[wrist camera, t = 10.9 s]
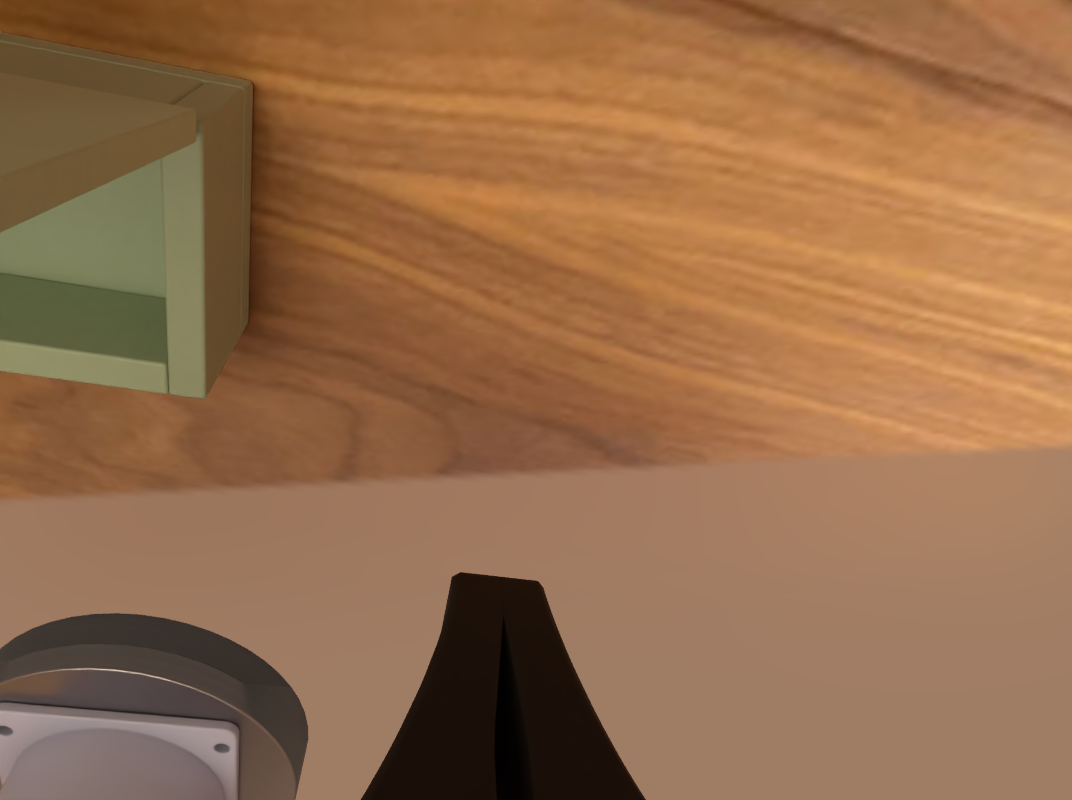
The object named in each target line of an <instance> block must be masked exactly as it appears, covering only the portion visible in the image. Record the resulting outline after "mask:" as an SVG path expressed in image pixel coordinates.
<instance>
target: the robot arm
mask: <svg viewBox="0 0 1072 800" xmlns="http://www.w3.org/2000/svg"><path fill="white" fill-rule="evenodd" d="M239 735H240V732H239V728H238V727H237V726H236V725H235V724H233V723H231V722H228V721H219V720H208V719H196V718H184V717H173V716H161V715H149V714H137V713H126V712H114V711H102V710H91V709H79V708H67V707H56V706H44V705H32V704H20V703H9V702H1V703H0V778H1V783H2V788H1V790H0V800H238V787H239ZM361 800H646V799H645V798H644V796H643V795H642V793H641V792H640V790H639V788H638V787H637V785H636V784H635V782H634V780H633V779H632V777H631V775H630V774H629V772H628V771H627V769H626V767H625V766H624V764H623V762H622V760H621V758H620V757H619V755H618V753H617V751H616V750H615V748H614V746H613V744H612V742H611V741H610V739H609V737H608V735H607V733H606V731H605V730H604V728H603V726H602V724H601V722H600V720H599V718H598V716H597V714H596V712H595V711H594V709H593V707H592V705H591V702H590V700H589V698H588V696H587V694H586V692H585V690H584V688H583V686H582V684H581V682H580V679H579V677H578V675H577V673H576V671H575V669H574V667H573V664H572V662H571V660H570V658H569V655H568V653H567V651H566V648H565V646H564V643H563V641H562V638H561V636H560V634H559V631H558V629H557V626H556V623H555V621H554V618H553V615H552V613H551V610H550V607H549V604H548V601H547V598H546V595H545V592H544V588H543V587H542V585H541V584H540V583H539V582H538V581H533V580H524V579H515V578H506V577H497V576H488V575H480V574H471V573H462V572H460V573H458V574H457V575H455V576H453V577H452V580H451V585H450V590H449V595H448V600H447V605H446V610H445V615H444V620H443V626H442V630H441V634H440V637H439V640H438V643H437V646H436V648H435V651H434V654H433V656H432V659H431V661H430V664H429V666H428V669H427V671H426V674H425V676H424V679H423V681H422V684H421V686H420V688H419V690H418V693H417V695H416V697H415V699H414V701H413V703H412V705H411V708H410V709H409V712H408V714H407V716H406V718H405V720H404V722H403V724H402V726H401V728H400V731H399V732H398V734H397V736H396V738H395V740H394V742H393V744H392V746H391V748H390V750H389V751H388V753H387V755H386V757H385V759H384V761H383V762H382V764H381V766H380V768H379V770H378V771H377V773H376V775H375V777H374V778H373V780H372V782H371V784H370V785H369V787H368V789H367V790H366V792H365V794H364V795H363V797H362V798H361Z"/></svg>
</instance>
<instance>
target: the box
mask: <svg viewBox="0 0 1072 800" xmlns="http://www.w3.org/2000/svg"><path fill="white" fill-rule="evenodd" d="M0 72H1V73H6V74H11V75H17V76H22V77H27V78H33V79H38V80H43V81H49V82H54V83H59V84H64V85H70V86H75V87H80V88H86V89H91V90H96V91H102V92H107V93H112V94H118V95H123V96H128V97H134V98H139V99H144V100H150V101H155V102H160V103H166V104H171V105H176V106H181V107H187V108H192V109H194V110H196V141H195V143H193V144H191V145H189V146H187V147H185V148H183V149H180V150H178V151H176V152H174V153H172V154H170V155H167V156H165V157H163V158H161V159H159V160H157V161H154V162H152V163H150V164H148V165H146V166H144V167H141V168H139V169H137V170H135V171H133V172H131V173H128V174H126V175H124V176H122V177H120V178H118V179H115V180H113V181H111V182H109V183H107V184H105V185H102V186H100V187H98V188H96V189H94V190H92V191H89V192H87V193H85V194H83V195H81V196H79V197H76V198H74V199H72V200H70V201H68V202H66V203H63V204H61V205H59V206H57V207H55V208H53V209H50V210H48V211H46V212H44V213H42V214H40V215H37V216H35V217H33V218H31V219H29V220H27V221H24V222H22V223H20V224H18V225H16V226H14V227H11V228H9V229H7V230H5V231H3V232H1V233H0V371H4V372H11V373H18V374H25V375H33V376H40V377H47V378H54V379H61V380H68V381H76V382H83V383H90V384H97V385H104V386H111V387H119V388H126V389H133V390H140V391H147V392H154V393H162V394H167V393H168V392H170V394H172V395H177V396H184V397H192V398H199V399H205V398H206V396H207V395H208V393H209V391H210V389H211V388H212V386H213V384H214V382H215V380H216V379H217V377H218V375H219V373H220V372H221V370H222V368H223V366H224V364H225V363H226V361H227V359H228V357H229V356H230V354H231V352H232V350H233V349H234V347H235V345H236V343H237V341H238V340H239V338H240V335H241V334H242V332H243V331H244V329H245V327H246V325H247V323H248V314H249V263H250V213H251V163H252V113H253V84H252V82H251V81H249V80H245V79H239V78H234V77H229V76H224V75H219V74H214V73H209V72H203V71H198V70H193V69H188V68H183V67H178V66H173V65H167V64H162V63H157V62H152V61H147V60H142V59H137V58H132V57H126V56H121V55H116V54H111V53H106V52H101V51H96V50H90V49H85V48H80V47H75V46H70V45H65V44H60V43H54V42H49V41H44V40H39V39H34V38H29V37H24V36H18V35H13V34H8V33H3V32H0Z"/></svg>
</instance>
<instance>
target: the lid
mask: <svg viewBox="0 0 1072 800" xmlns="http://www.w3.org/2000/svg"><path fill="white" fill-rule="evenodd" d="M195 141H196V110H194V109H192V108H187V107H181V106H176V105H171V104H166V103H160V102H155V101H150V100H144V99H139V98H134V97H128V96H123V95H118V94H112V93H107V92H102V91H96V90H91V89H86V88H80V87H75V86H70V85H64V84H59V83H54V82H49V81H43V80H38V79H33V78H27V77H22V76H17V75H11V74H6V73H1V72H0V233H1V232H3V231H5V230H7V229H9V228H11V227H14V226H16V225H18V224H20V223H22V222H24V221H27V220H29V219H31V218H33V217H35V216H37V215H40V214H42V213H44V212H46V211H48V210H50V209H53V208H55V207H57V206H59V205H61V204H63V203H66V202H68V201H70V200H72V199H74V198H76V197H79V196H81V195H83V194H85V193H87V192H89V191H92V190H94V189H96V188H98V187H100V186H102V185H105V184H107V183H109V182H111V181H113V180H115V179H118V178H120V177H122V176H124V175H126V174H128V173H131V172H133V171H135V170H137V169H139V168H141V167H144V166H146V165H148V164H150V163H152V162H154V161H157V160H159V159H161V158H163V157H165V156H167V155H170V154H172V153H174V152H176V151H178V150H180V149H183V148H185V147H187V146H189V145H191V144H193V143H195Z"/></svg>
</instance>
